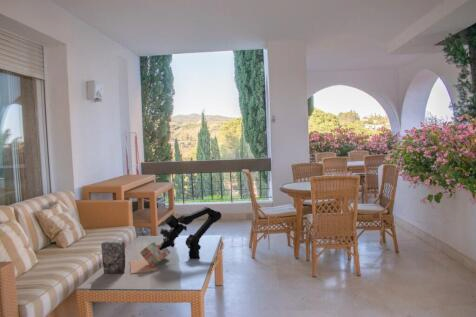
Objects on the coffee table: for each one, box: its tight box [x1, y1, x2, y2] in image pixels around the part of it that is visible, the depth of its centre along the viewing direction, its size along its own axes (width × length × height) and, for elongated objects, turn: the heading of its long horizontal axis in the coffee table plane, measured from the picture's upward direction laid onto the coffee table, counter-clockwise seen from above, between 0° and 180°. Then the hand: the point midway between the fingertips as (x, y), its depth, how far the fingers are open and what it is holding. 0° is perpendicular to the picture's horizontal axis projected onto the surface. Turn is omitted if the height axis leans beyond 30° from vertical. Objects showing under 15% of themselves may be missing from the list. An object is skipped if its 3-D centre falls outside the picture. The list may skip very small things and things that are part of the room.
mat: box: [129, 258, 158, 275], centre depth 245 cm, size 16×26×1 cm, turn 17°
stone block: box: [101, 239, 126, 275], centre depth 234 cm, size 13×7×20 cm, turn 87°
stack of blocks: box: [139, 241, 171, 267], centre depth 250 cm, size 21×6×12 cm
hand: (159, 249), depth 248 cm, fingers closed
